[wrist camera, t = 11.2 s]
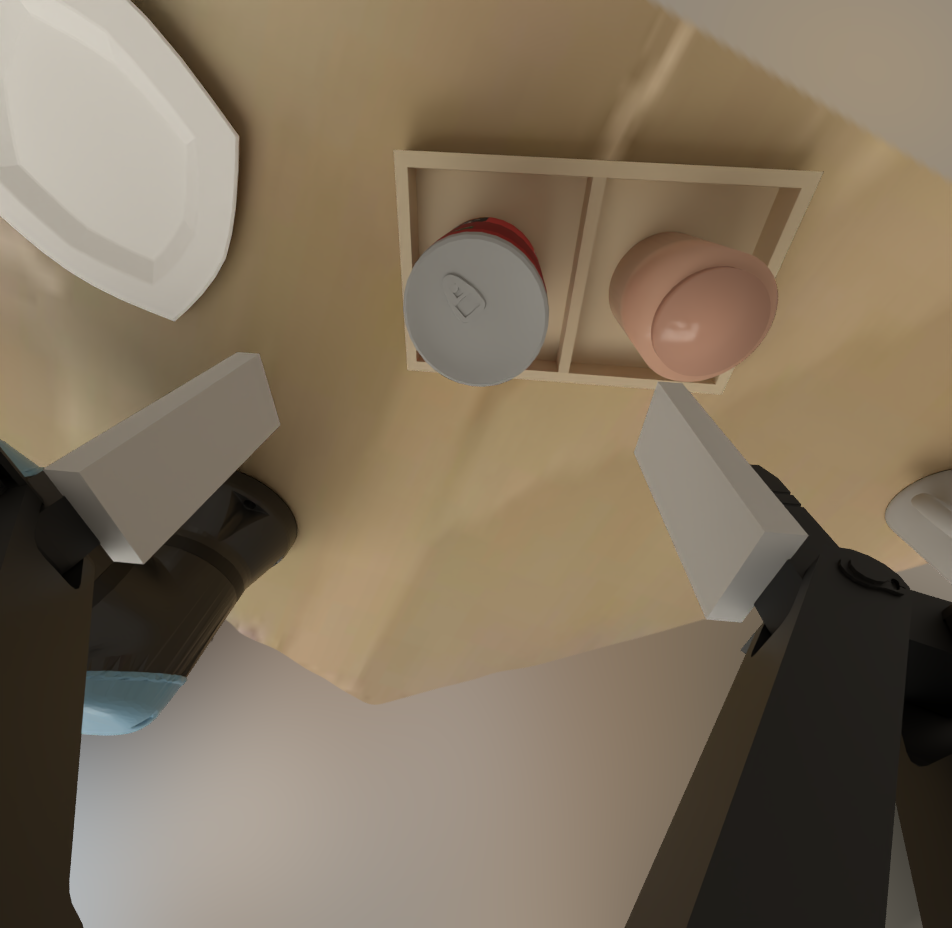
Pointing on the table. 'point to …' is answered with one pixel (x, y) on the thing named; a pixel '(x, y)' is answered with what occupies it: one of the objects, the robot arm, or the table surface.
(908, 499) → the mug
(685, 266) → the jar
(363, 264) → the table surface
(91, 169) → the plate
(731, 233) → the divided tray
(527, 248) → the canned food
